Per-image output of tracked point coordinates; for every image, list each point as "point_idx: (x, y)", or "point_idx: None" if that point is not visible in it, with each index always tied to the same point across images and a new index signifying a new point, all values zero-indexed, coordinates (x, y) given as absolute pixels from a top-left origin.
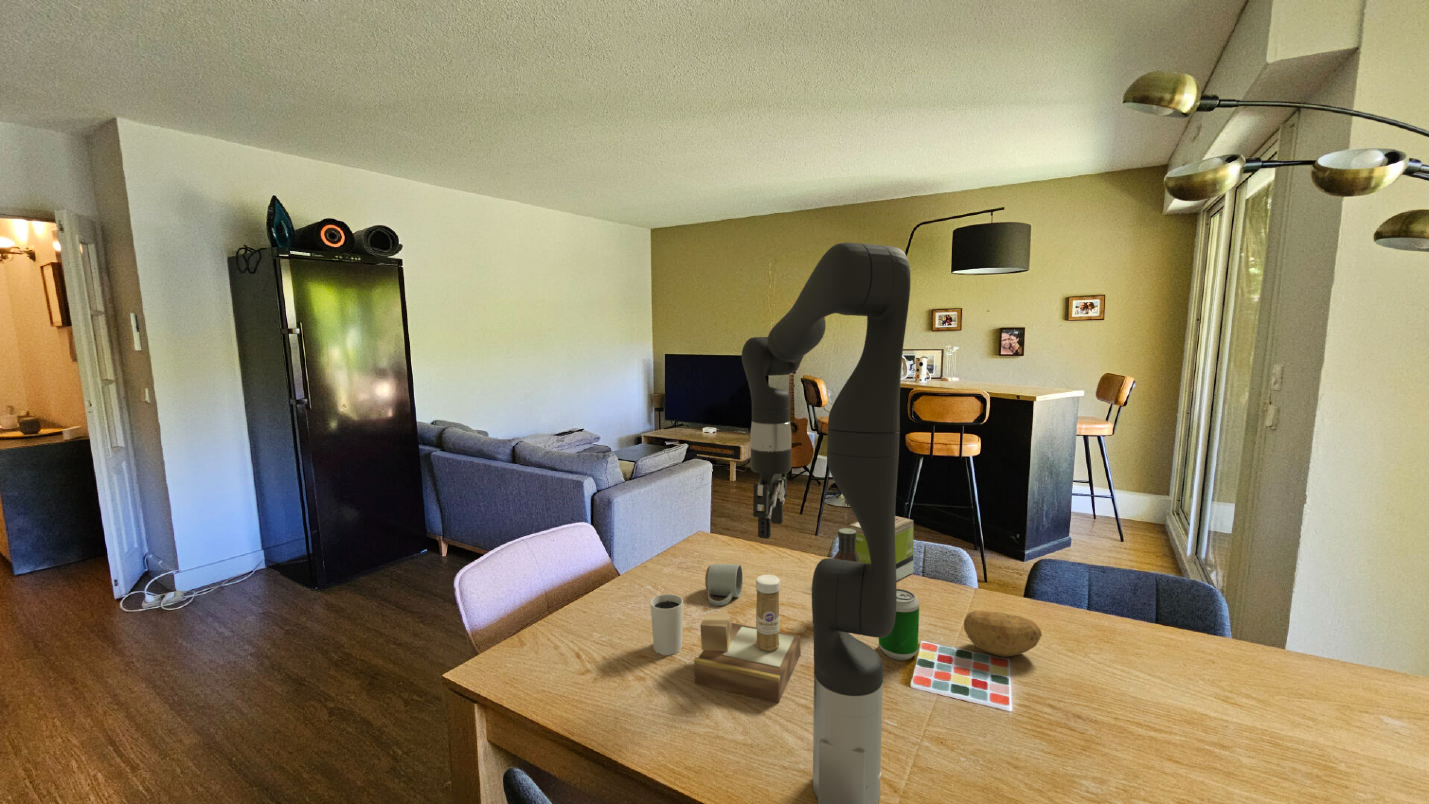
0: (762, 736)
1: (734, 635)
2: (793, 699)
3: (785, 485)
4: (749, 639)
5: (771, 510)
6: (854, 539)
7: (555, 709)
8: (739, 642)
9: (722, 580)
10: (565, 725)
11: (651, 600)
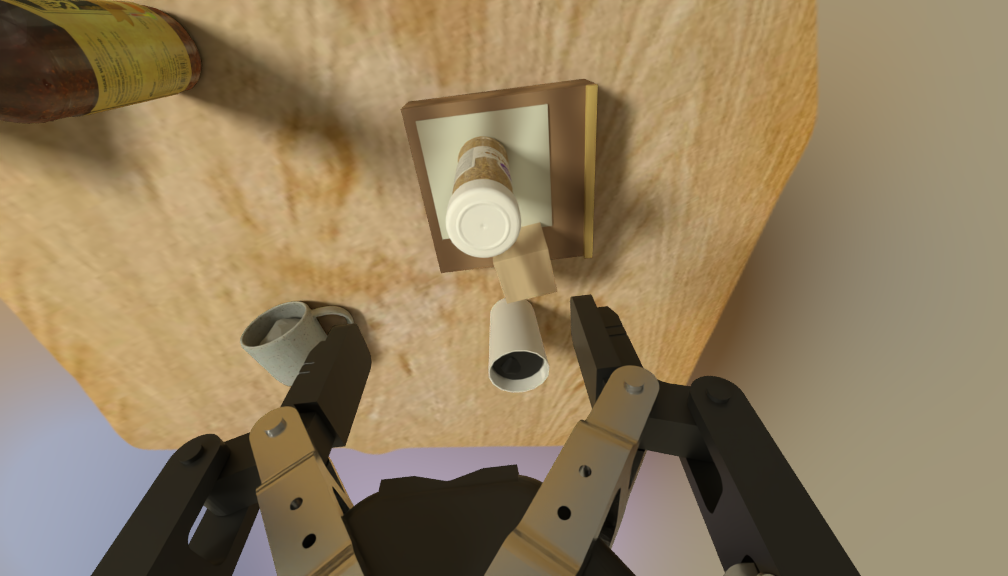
0: (682, 68)
1: None
2: (562, 53)
3: (143, 550)
4: None
5: (606, 409)
6: None
7: (686, 344)
8: None
9: (313, 345)
10: (711, 320)
11: (527, 390)
